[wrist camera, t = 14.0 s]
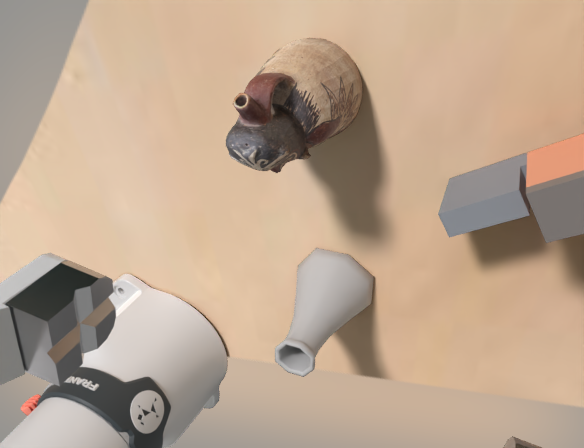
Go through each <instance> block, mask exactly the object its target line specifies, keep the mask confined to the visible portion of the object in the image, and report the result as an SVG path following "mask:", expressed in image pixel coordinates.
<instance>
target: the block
mask: <svg viewBox="0 0 584 448" xmlns="http://www.w3.org/2000/svg"><path fill="white" fill-rule="evenodd" d="M526 196H527V198H528V200H529V203H530V205H531V208H532V210H533V212H534V215H535V217H536V220H537V222H538V224H539V227H540V229H541V232H542V234H543V236H544V239H545V241H546V243H548V242H552V241H556V240H560V239H564V238H568V237H572V236H577V235H581V234H584V134H581V135H578V136H575V137H572V138H569V139H566V140H563V141H560V142H557V143H554V144H551V145H548V146H545V147H542V148H539V149H536V150H533V151H531V152H528V153H527V174H526Z"/></svg>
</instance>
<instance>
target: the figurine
mask: <svg viewBox="0 0 584 448" xmlns="http://www.w3.org/2000/svg"><path fill="white" fill-rule="evenodd" d="M361 99H362V82H361V78H360V74H359V71H358V69H357V67H356V64H355V63H354V61H353V60H352V59H351V57H350V56H349V55H348V54H347V53H346V52H345V51H344V50H343V49H341V48H340V47H339V46H338V45H336V44H334V43H332V42H330V41H327V40H325V39H316V38H306V39H300V40H295V41H292V42H291V43H289V44H287V45H285V46H284V47H282V48H280V49H278V50H277V51H276V52H275V53H274V54H273V55H272V57H271V58H270V59H269V60H268V61H267V62H266V63H265V64H264V66H263V67H262V68H261V70H260V71H259V72H258V73H257V75H256V76H255V77H254V78H253V79H252V80H251V81H250V82H249V84H248V85H247V87H246V89H245V92H244V93H239V94H238V95H237V96H236V97H235V99H234V101H233V105H234V107H235V108H236V110H237V111H238V112H239V114H240V115H239V118H238V120H237V122H236V124H235V125H234V126H233V127H232V129H231V130H230V132H229V133H228V135H227V138H226V146H227V148H228V151H229V155H230V157H231V158H232V159H234V160H236V161H238V162H240V163H241V164H244V165H246V166H248V167H250V168H253V169H256V170H259V171H268V170H271V171H273V172H276V173H278V172H280V171H281V169H282V167H283V166H284V165H285V163H287V162H289V161H292V160H295V159H308V158H309V157H310V156H311V155H310V154H309V153H308V148H310V147H314V146H317V145H319V144H321V143H322V142H324V141H325V140H327V139H328V138H330V137H333V136H335V135H337V134H339V133H340V132H342V131H343V130H344V129H346V128H347V127H348V126H349V125H350V124H351V123H352V122H353V120H354V118H355V117H356V115H357V113H358V110H359V108H360V103H361Z"/></svg>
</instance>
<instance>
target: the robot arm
mask: <svg viewBox="0 0 584 448" xmlns="http://www.w3.org/2000/svg"><path fill="white" fill-rule="evenodd" d="M226 371H227V354H226V351H225V348H224V345H223V343H222V341H221V339H220V337H219V335H218V334H217V332H216V331H215V329H214V328H213V327H212V325H211V324H210V323H209V322H208V321H207V319H206V318H205V317H204V316H203V315H202V314H200V313H199V312H198V311H197V310H196V309H194V308H193V307H192V306H190V305H189V304H188V303H186V302H184V301H183V300H181V299H179V298H177V297H175V296H173V295H171V294H168V293H165V292H162V291H159V290H156V289H154V288H151V287H149V286H148V285H146V284H145V283H144V282H142V281H141V280H139V279H138V278H136V277H134V276H132V275H130V274H124V275H122V276H121V277H119V278H118V279H116V280H115V281H114V282H113V281H112V279H110V278H108V277H106V276H104V275H102V274H100V273H97V272H95V271H93V270H90V269H88V268H86V267H83V266H81V265H79V264H76V263H74V262H72V261H69V260H66V259H64V258H62V257H59V256H57V255H54V254H52V253H48V254H43V255H41V256H39V257H38V258H36V259H35V260H33V261H32V262H30V263H29V264H27V265H26V266H25V267H23V268H22V269H20V270H19V271H17V272H16V273H14V274H13V275H12V276H10V277H9V278H7V279H6V280H4V281H3V282H1V283H0V385H1V384H4V383H6V382H8V381H10V380H13V379H15V378H17V377H19V376H22V375H24V374H25V372H27V373H30V374H32V375H34V376H37V377H39V378H41V379H43V380H46V381H48V382H50V384H49V385H48V386H47V387H46V389H45V390H44V393H43V395H42V396H40V395H35V396H33V397H32V398H30V399H29V400H28V401H26V402H25V403H24V404H23V405H22V408H21V410H22V411H23V412H24V413H25V414H26V415H28V416H27V417H26V418H25V419H24V420H23V421H22V422H21V423H20V424H19V425H18V426H17V427H16V428H15V429H14V430H13V431H12V432H11V433H10V434H9V435H8V436H7V437H6V438H5V439H4V440H3V441H2V442H1V443H0V448H164V447H171V446H172V445H173V444H175V443H176V441H177V440H178V439H179V438H180V436H181V435H182V434H183V433H184V432H185V430H186V429H187V428H188V427H189V425H190V424H191V423H192V421H193V420H194V419H195V418H196V416H197V415H198V414H199V413H200V412H201V410H202V409H203V408H213V407H214V406H215V405H216V403H217V402H218V401H219V385H220V383H221V381H222V380H223V378H224V376H225V374H226ZM503 448H541V447H539V446H536V445H534V444H531V443H528V442H526V441H523V440H520V439H518V438H515V437H511V438H510V439H508V441H507V442H506V444H505V445H504V447H503Z"/></svg>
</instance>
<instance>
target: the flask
mask: <svg viewBox="0 0 584 448" xmlns="http://www.w3.org/2000/svg"><path fill="white" fill-rule="evenodd" d="M373 279H374V277H373V276H372V275H371V274H370V273H369V272H368V271H366V270H365V269H364V268H363V267H362V266H361V265H360V264H358V263H357V262H356V261H355V260H354V259H353V258H352V257H351V256H349V255H348V254H343V253H338V252H333V251H328V250H324V249H319V248H316V249H315V250H314V251H313V252H312V253H311V254H310V255H309V256H308V257H307V258H305V259H304V260H303V261H302V262H301V263H300V264H299V265H298V271H297V286H296V299H295V308H294V317H293V320H292V323H291V327H290V330H289V333H288V335H287V337H286V339H285V340H284V341H282V342H281V343H280V344H279V345H278V346H277V347H276V348H275V361H276V362H277V363H278V364H279V365H280V366H281V367H283V368H284V369H285V370H286V371H287V372H289V373H292V374H296V375H299V376H302V377H304V376H306V375H307V374H308V373H310V372H311V371H313V370H314V368H315V357H316V355H317V353H318V351H319V349H320V348H321V347H322V345H323V344H324V343H325V342H326V341H327V339H328V338H329V337H330V336H331V335H332V334H333V333H335V332H336V331H337V330H338V329H339V328H341V327H342V326H343V325H344V324H345V323H347V322H348V321H349V320H350V319H352V318H353V317H354V316H356V315H357V314H358V313H360V312H361V311H362V310H364V309H365V308H366V307H367V306H369V305H370V304H371V302H372V291H373Z"/></svg>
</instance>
